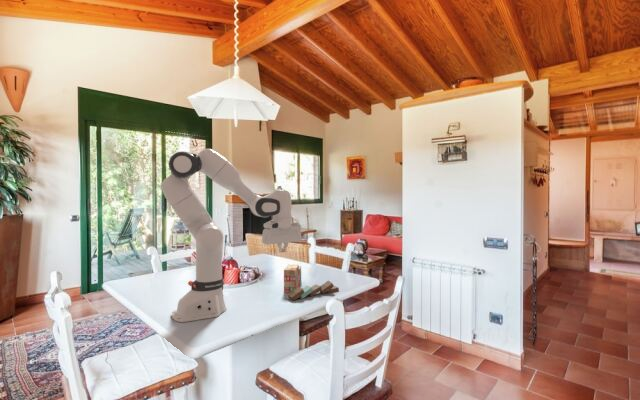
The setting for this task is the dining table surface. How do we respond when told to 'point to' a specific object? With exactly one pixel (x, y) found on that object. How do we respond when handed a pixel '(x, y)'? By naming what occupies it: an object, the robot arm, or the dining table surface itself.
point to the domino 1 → (296, 293)
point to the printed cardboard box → (292, 277)
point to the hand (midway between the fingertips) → (282, 252)
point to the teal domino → (306, 291)
